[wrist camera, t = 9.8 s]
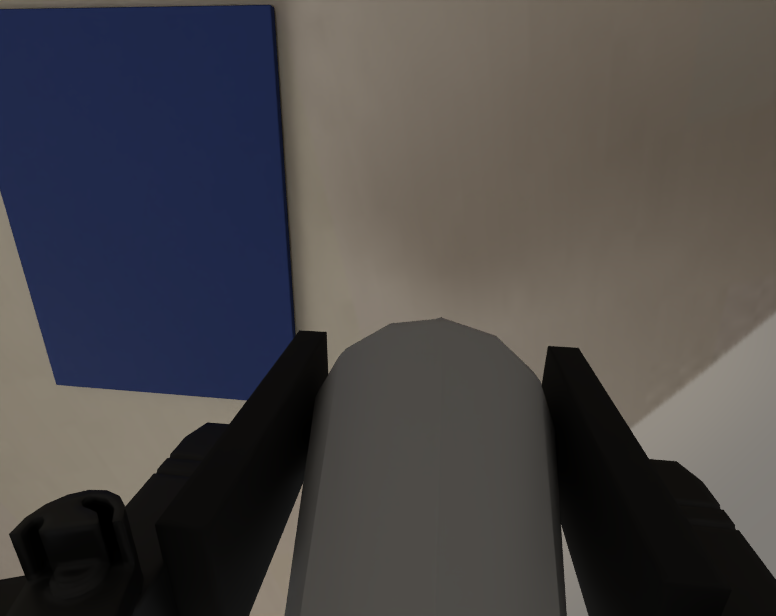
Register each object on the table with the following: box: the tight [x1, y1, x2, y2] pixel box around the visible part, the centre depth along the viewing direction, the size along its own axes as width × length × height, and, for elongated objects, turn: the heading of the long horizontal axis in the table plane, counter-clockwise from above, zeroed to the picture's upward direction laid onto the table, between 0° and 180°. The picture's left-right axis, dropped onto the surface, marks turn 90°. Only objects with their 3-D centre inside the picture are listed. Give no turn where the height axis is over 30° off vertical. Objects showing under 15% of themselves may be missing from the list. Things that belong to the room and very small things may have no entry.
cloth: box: [0, 5, 295, 400], centre depth 21 cm, size 14×18×1 cm
